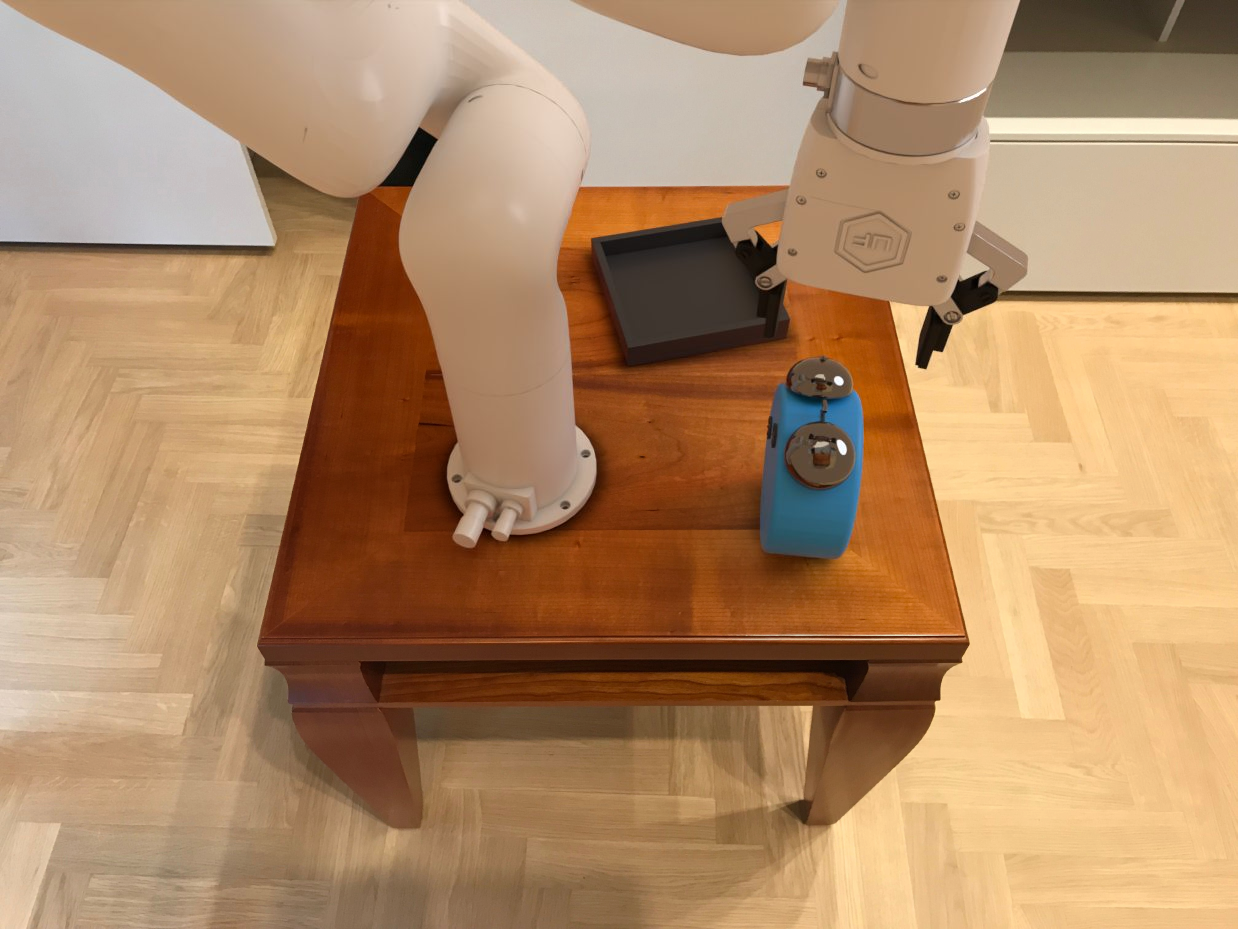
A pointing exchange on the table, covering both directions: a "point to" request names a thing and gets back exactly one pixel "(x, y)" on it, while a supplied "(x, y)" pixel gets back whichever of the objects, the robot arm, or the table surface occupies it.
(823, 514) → the alarm clock
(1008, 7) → the robot arm
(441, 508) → the table surface
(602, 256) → the tray
